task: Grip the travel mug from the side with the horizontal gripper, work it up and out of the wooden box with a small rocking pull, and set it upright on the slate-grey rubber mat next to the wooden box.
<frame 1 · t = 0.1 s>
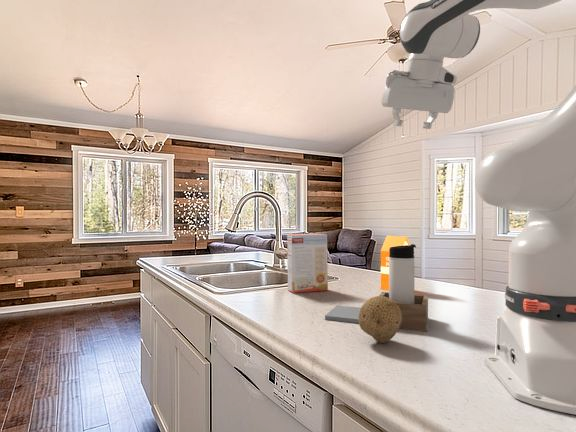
hand: (412, 127, 98), 52 cm above the worktop, tool tilted 20°, fingers open, 8 cm apart
orange juice: (396, 290, 133), on the worktop
cracker box: (307, 291, 131), on the worktop
wooden box: (402, 321, 92), on the worktop
travel mug: (402, 322, 92), resting in wooden box
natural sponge: (379, 343, 76), on the worktop
mat: (350, 315, 97), on the worktop
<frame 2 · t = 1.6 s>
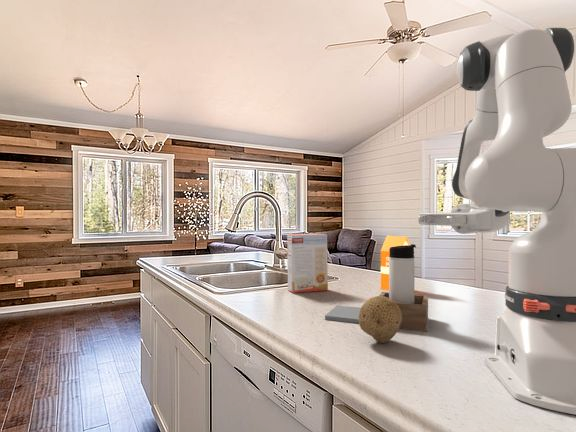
hand: (433, 219, 98), 26 cm above the worktop, tool horizontal, fingers open, 8 cm apart
nothing on the worktop moved.
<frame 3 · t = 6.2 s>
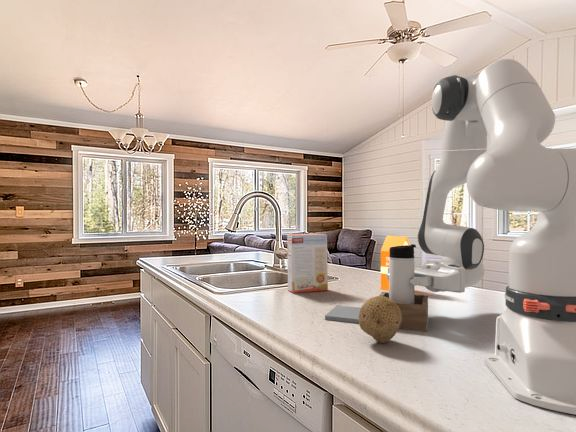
hand: (399, 279, 91), 11 cm above the worktop, tool horizontal, fingers open, 6 cm apart
travel mug: (402, 322, 92), resting in wooden box, touching gripper
everything else where it was.
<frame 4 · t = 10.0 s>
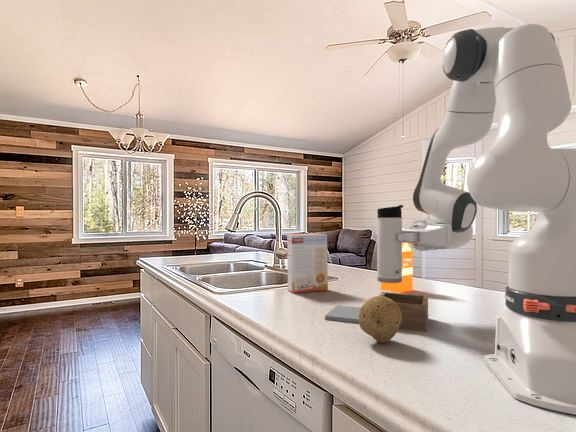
hand: (387, 236, 93), 22 cm above the worktop, tool horizontal, fingers closed on travel mug, 6 cm apart
travel mug: (390, 281, 93), point 10 cm above the worktop, touching gripper
everything else where it was.
when the fingers open (13 cm above the worktop, at t = 13.7 s): travel mug stays where it is, resting on mat.
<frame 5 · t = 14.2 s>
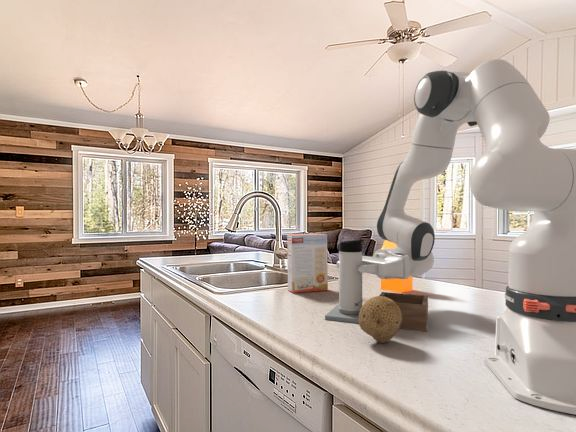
hand: (348, 266, 97), 13 cm above the worktop, tool horizontal, fingers open, 8 cm apart
travel mug: (351, 313, 97), point 1 cm above the worktop, touching mat
everything else where it was.
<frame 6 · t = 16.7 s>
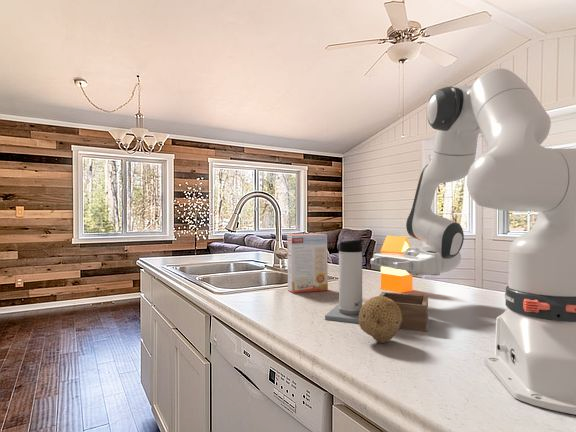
hand: (382, 263, 103), 14 cm above the worktop, tool horizontal, fingers open, 8 cm apart
nothing on the worktop moved.
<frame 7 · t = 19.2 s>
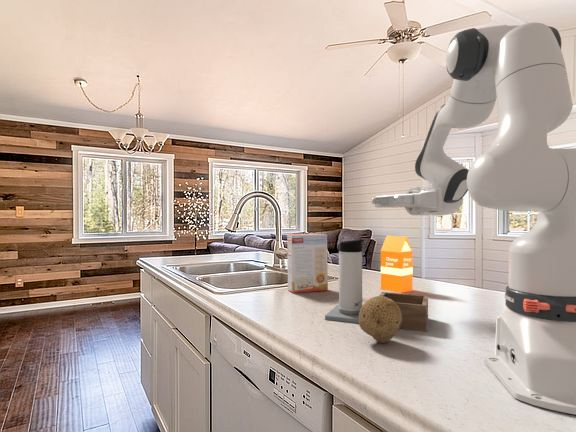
hand: (384, 200, 103), 32 cm above the worktop, tool horizontal, fingers open, 8 cm apart
nothing on the worktop moved.
at the end: travel mug inside the target area on the mat (0.1 cm from its centre), point 0.8 cm above the mat's base; travel mug tilted 0°; travel mug touching mat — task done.
